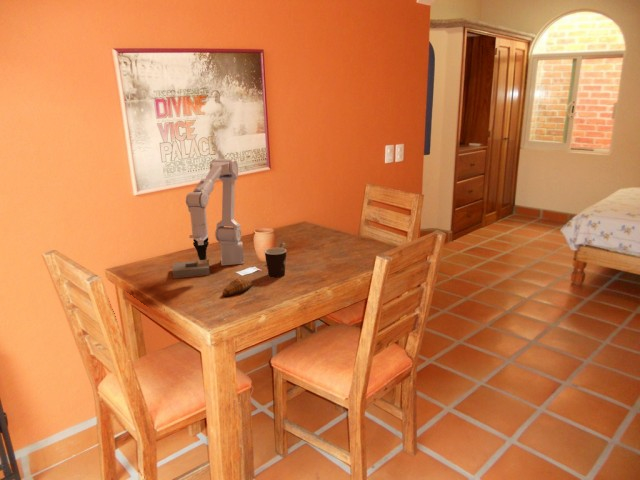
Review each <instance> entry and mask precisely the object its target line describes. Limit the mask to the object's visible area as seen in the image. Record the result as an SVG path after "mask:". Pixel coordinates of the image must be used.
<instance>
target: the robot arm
mask: <svg viewBox="0 0 640 480" xmlns="http://www.w3.org/2000/svg"><path fill="white" fill-rule="evenodd" d="M209 168H210V169H209V171H208V173H207V175H206V177H205V178H202V179H201V180H200V181H199V182H198V184H197V185H196V186H195V188H194V190H193V191H190V192H189V193H188V194H187V195H186V197H185V204H186V206H187V208H188V209H187V210H188V212H189V214H190V222H191V234H190V235H189V239H193V243H192V245H193V247H194V248H195V250H196V252H197V258H198V257H199V259H200V260H205V259H206V253H207V251H208V250H207V249H208V247H209V242H210V241H209V236H210V235H209V229H208V227H209V226H208V218H207V206H208V205H209V200H210V195H211V194H212V192H213V191H214V189H215V185H214V184H215V183H216V182H217V180H220V181H221V182H222V200H221V205H222V207H221V210H222V211H221V219H220V221H219V222H218V223H216V228H215V232H214V236H215V240H216V241H218V244H220V254H221V256H220V257H221V259H220V263H221V264H220V265H221V266H232V265H241V264H242V265H243V264H245V262H244V260H245V254H244V247H243V246H244V245H243V241H241V239H242V230H241V224H240V223H238V221H237V220H235V196H236V195H235V193H236V191H235V189H236V180H238V178H239V165H238V162H237V160H236V159H234V158H231V159H227V158H226V159H222V158H221V159H220V158H218V159H216V158H213V159H211V161H210V163H209Z"/></svg>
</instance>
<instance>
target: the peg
mask: <svg viewBox="0 0 640 480" xmlns="http://www.w3.org/2000/svg"><path fill="white" fill-rule="evenodd" d="M207 256H208V255H207V252H206V259H205V260H200V259H199V257H198V256H197V261H198V263H199V264H204V263H207V260H208V257H207Z"/></svg>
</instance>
